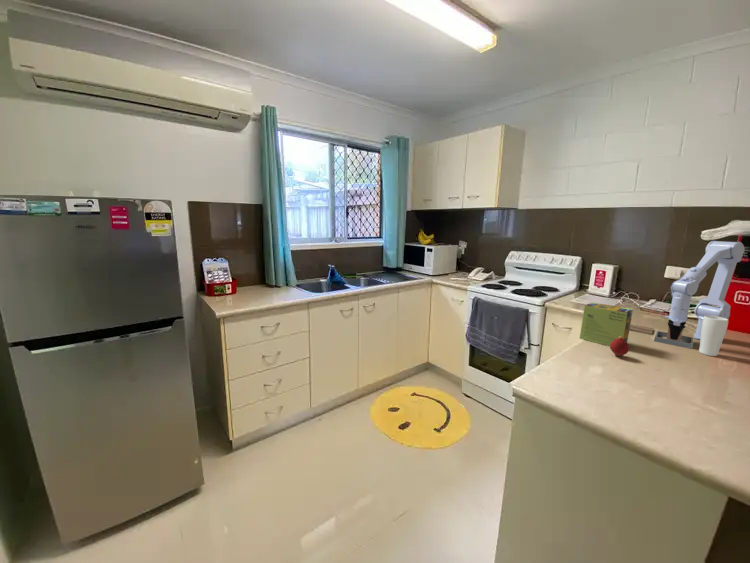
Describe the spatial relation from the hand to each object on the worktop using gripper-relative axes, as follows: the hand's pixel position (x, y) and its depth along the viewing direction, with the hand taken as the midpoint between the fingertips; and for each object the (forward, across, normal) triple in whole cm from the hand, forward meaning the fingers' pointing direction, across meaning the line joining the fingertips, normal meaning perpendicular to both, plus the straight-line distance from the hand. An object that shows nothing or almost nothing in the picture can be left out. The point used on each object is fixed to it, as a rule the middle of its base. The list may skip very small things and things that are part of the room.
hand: (673, 337), depth 139 cm
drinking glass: (+2, +9, +10) cm, 14 cm away
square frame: (+2, 0, 0) cm, 2 cm away
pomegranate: (+2, +40, -14) cm, 42 cm away
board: (+2, -10, -12) cm, 16 cm away
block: (+2, 0, 0) cm, 2 cm away
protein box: (+2, +24, -22) cm, 32 cm away
